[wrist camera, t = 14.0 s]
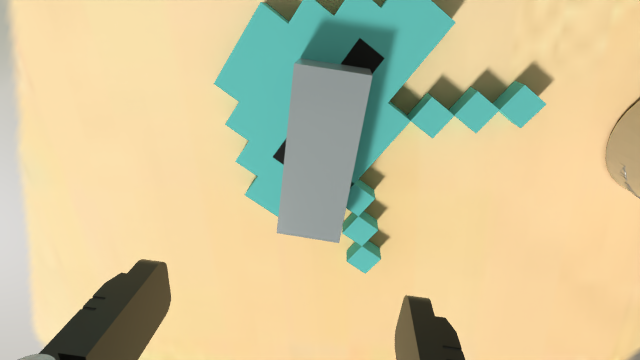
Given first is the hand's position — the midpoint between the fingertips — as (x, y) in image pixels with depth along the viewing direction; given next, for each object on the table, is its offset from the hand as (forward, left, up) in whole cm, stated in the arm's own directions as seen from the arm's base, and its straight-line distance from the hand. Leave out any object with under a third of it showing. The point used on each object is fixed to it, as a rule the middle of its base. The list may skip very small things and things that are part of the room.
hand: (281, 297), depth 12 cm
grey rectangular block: (+1, +1, -15) cm, 15 cm away
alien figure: (-2, +1, -19) cm, 19 cm away
